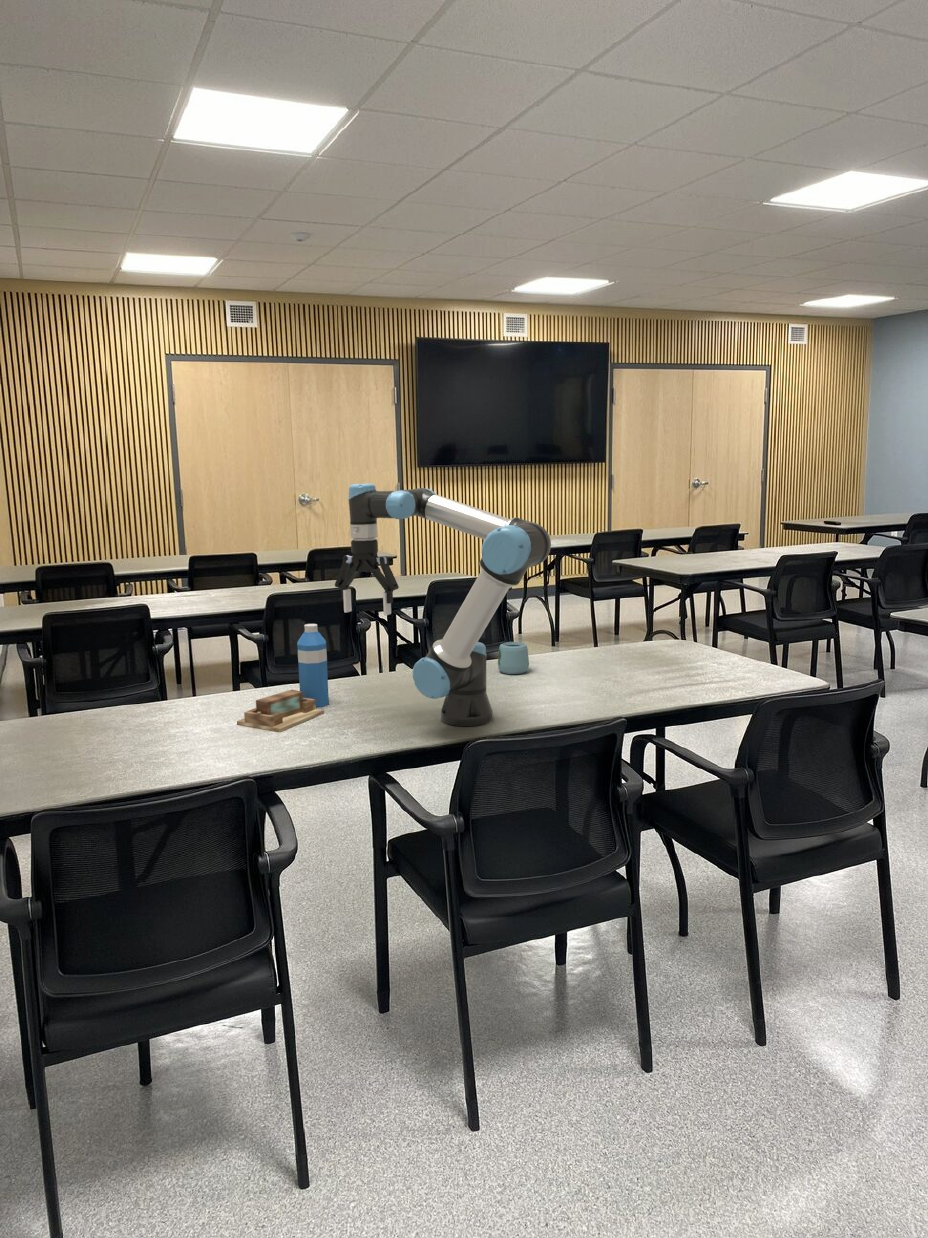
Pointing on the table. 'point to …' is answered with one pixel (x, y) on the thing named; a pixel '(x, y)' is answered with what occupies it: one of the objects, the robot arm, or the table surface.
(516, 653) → the mug
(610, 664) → the table surface
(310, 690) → the water bottle
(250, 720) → the cleat board
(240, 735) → the table surface
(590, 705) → the table surface
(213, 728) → the table surface
